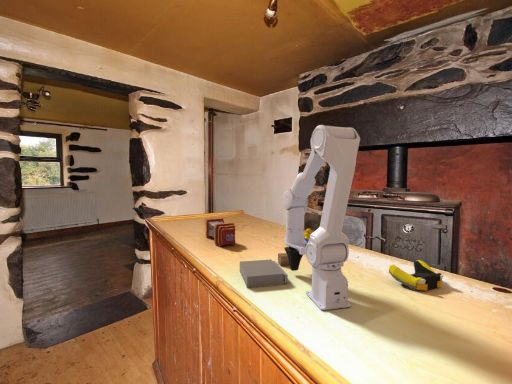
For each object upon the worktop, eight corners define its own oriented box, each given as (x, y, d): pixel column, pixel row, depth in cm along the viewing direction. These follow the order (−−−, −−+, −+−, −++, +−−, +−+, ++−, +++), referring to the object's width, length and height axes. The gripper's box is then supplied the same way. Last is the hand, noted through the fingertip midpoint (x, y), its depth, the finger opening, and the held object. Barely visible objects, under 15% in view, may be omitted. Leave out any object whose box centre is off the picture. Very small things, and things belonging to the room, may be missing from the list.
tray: (288, 282, 77) (288, 274, 77) (251, 286, 74) (251, 277, 74) (275, 267, 89) (275, 260, 89) (243, 270, 86) (243, 262, 86)
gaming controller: (384, 281, 79) (415, 295, 70) (385, 264, 79) (416, 276, 70) (417, 274, 85) (450, 286, 76) (418, 258, 85) (451, 268, 76)
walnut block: (290, 265, 92) (290, 255, 92) (280, 266, 91) (281, 256, 91) (286, 262, 96) (287, 252, 95) (277, 262, 95) (278, 253, 95)
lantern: (202, 217, 136) (220, 227, 109) (219, 215, 140) (241, 226, 113) (202, 235, 137) (220, 250, 110) (219, 233, 141) (241, 248, 114)
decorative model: (330, 240, 112) (306, 235, 104) (322, 258, 113) (298, 255, 105) (310, 227, 123) (287, 222, 114) (303, 244, 124) (280, 240, 115)
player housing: (283, 284, 76) (283, 273, 76) (247, 288, 74) (247, 276, 73) (271, 268, 89) (271, 259, 89) (239, 271, 86) (239, 261, 86)
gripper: (316, 232, 77) (315, 277, 78) (297, 223, 91) (297, 261, 92) (294, 233, 75) (293, 279, 76) (278, 224, 89) (278, 262, 90)
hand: (294, 269), depth 84 cm, fingers closed
